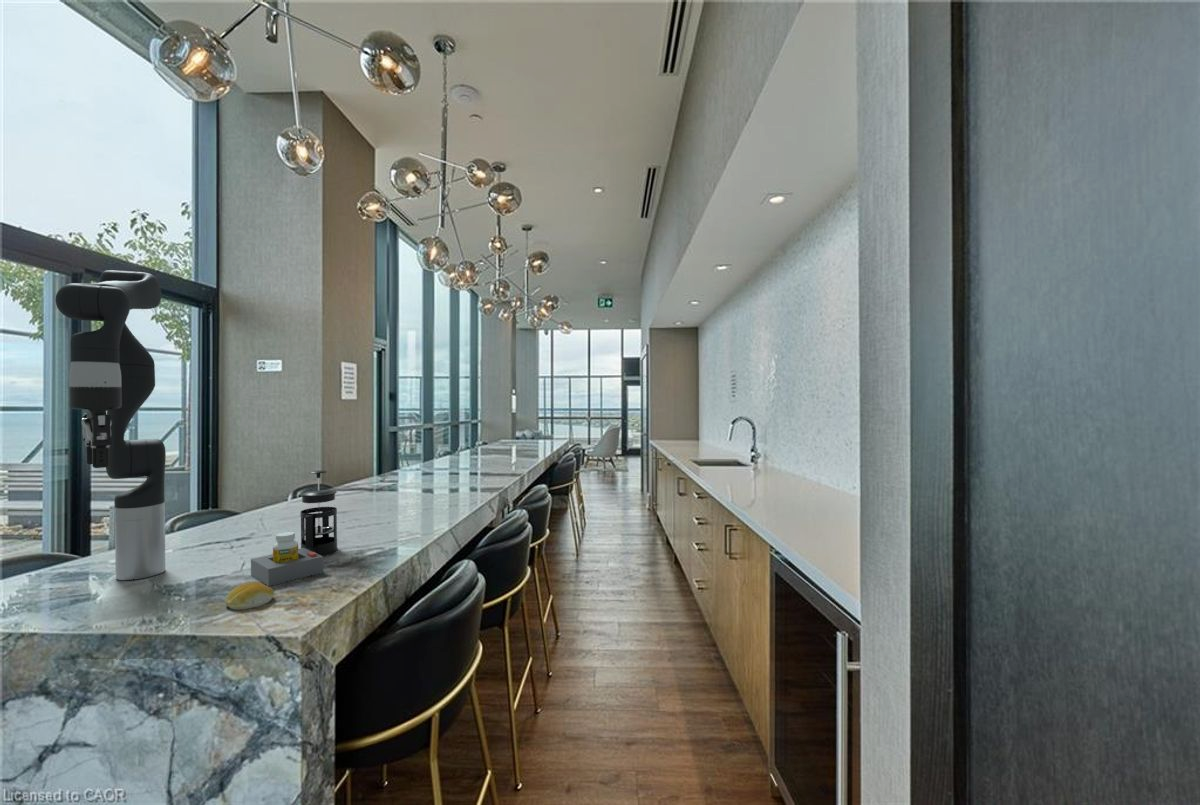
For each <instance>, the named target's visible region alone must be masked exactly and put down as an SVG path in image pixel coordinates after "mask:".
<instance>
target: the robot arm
mask: <svg viewBox="0 0 1200 805" xmlns="http://www.w3.org/2000/svg"><path fill="white" fill-rule="evenodd" d="M159 281H160V280H158V278H157V276H155V275H153V274H151V273H148V272H144V271H143V272H142V271H129V270H112V269H111V270H107V269H106V270H104V271H103V272H102V273H101V275H100V278H99V282H97V283H82V282H81V283H80V282H79V283H76V282H75V283H74V282H73V283H68V284H64V285H62V287H60V288H59V290H58V291H57V292H56V294H55V305H56V308H57V309H58V310H59V312H60V313H61V314H62V315H64V317H66V318H68V319H71V320H77V321H92V322H93V321H94V322H103V324H102V326H101V327H100V328H99V329H96V330H91V331H80V332H77V333H73V335H71V337H70V344H69V345H70V367H69V373H68V375H69V376H68V380H69V381H68V382H69V387H68V389H69V395H68V396H69V408H70V409H72V410H86V413H83V415H82V418H81V427H82V438H83V439H82V440H83V442H84V445H85V447H86V448H85V449H86V450H85V451H86V464H88V465H92V467H93V469H94V468H95V469H100V468H101V469H103V468H105V471H106V474H107V476H108V477H109V478H110V479H112V480H120V479H131V478H132V479H133V478H143V477H145V478H146V479H145V481H143V482H142V483H140V485H138V486H136V487H134V488H132V489H129V490H126V491H123V492H121V493H119V494H117V495H115V497H114V502H113V504H114V538H115V539H114V540H115V541H114V545H115V546H114V548H115V550H114V551H115V553H114V555H115V560H114V561H115V564H114V565H115V568H114V569H115V579H116V580H117V579H118V580H117V581H132V580H133V579H134V580H139V579H145V578H150V577H153V576H157V575H160V574H162V573H164V572H165V571H166V518H165V517H166V514H165V513H166V510H165V509H166V508H165V504H166V502H165V501H166V500H165V474H166V460H167V459H166V452H167V451H166V447H165V444H164V442H163V441H162V440H161V439H158V438H146V439H129V440H128V439H127V440H126V439H125V433H126V430H127V428H128V425H129V424H130V422H131V420H132V419H133V417H134V416H135V415H136V413H137V412H138V411H139V409H140V408H141V407H142V405H144V403H145V402H146V401H147V400H148V399H149V397H150V396H151V394H152V393H153V391H154V390H155V386H156V370H155V369H156V366H155V365H156V364H155V361H154V360H155V359H154V358H153V356H152V355H151V354H150V353H149V351H148V350H147V348H146V347H145V346H144V345H143V344H142V343H141V342H140V341H139V339H138V338H137V337H136V336H135V335H134V333H132V331H131V330H130V329H129V327H128V325H127V324H126V321H127V319H128V318H129V317H128V316H129V314H130V311H131V310H150V309H156V308H158V306H159V305H160V303H161V302H162V289H161V283H160V282H159Z"/></svg>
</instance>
